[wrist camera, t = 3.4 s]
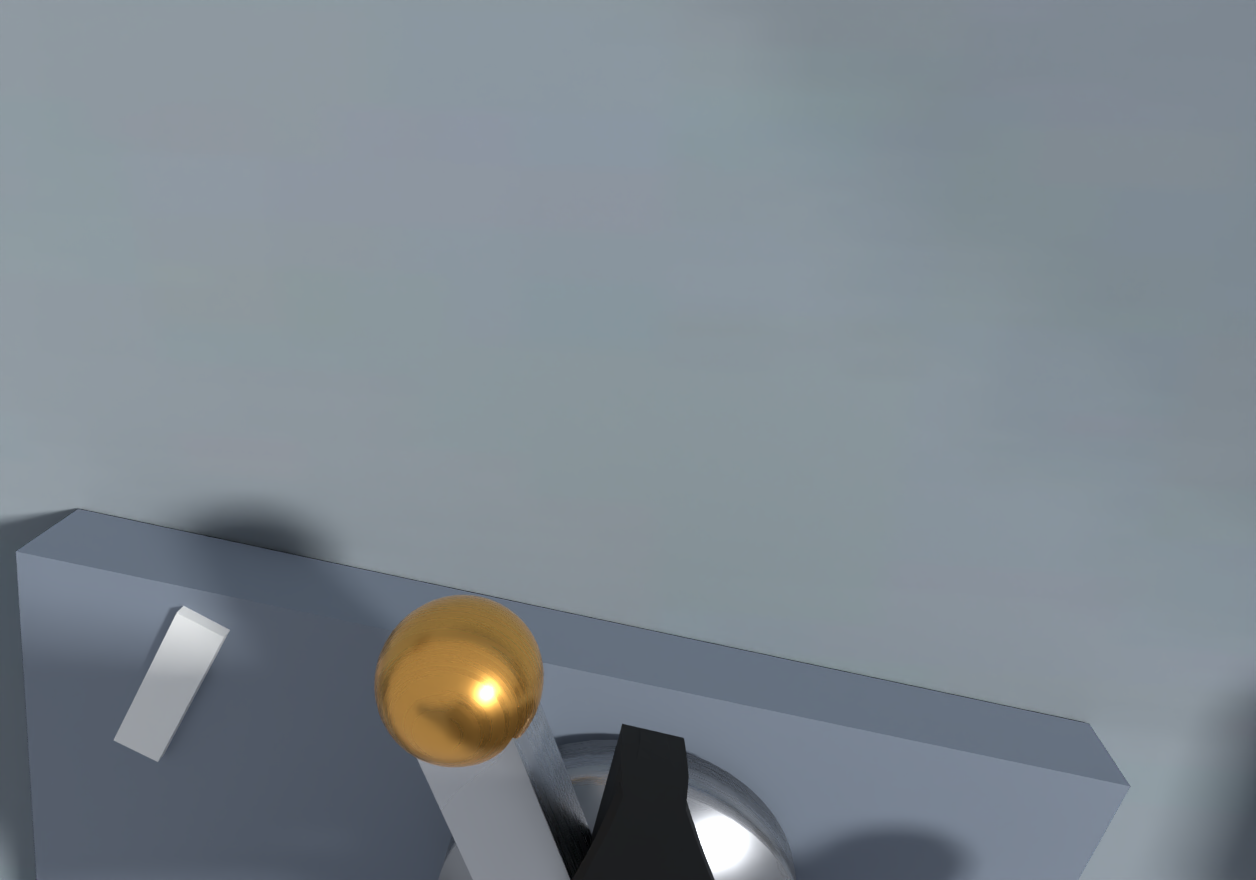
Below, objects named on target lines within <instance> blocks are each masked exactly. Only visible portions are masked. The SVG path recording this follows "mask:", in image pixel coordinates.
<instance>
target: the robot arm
mask: <svg viewBox="0 0 1256 880" xmlns="http://www.w3.org/2000/svg"><path fill="white" fill-rule="evenodd" d="M688 780H689V774H688V763H687V754H686V747H685V741H684V738H683V737H678V736H674V735H670V734H665V733H661V732H657V731H652V730H648V729H644V728H639V727H635V726H630V725H626V724H622V726H621V730H620V734H619V737H618V741H617V745H616V748H615V752H614V755H613V759H612V763H611V766H610V770H609V774H608V777H607V781H606V785H605V788H604V792H603V795H602V799H601V803H600V806H599V810H598V814H597V817H596V821H595V825H594V828H593V832H592V840H591V847H590V849H589V850H588V852H587V854H586V856H585V857H584V859H583V861H582V863H581V865H580V866H579V868H578V870H577V872H576V873H575V875H574V877H573V879H572V880H715V879H714V877H713V874H712V871H711V869H710V866H709V863H708V861H707V858H706V855H705V853H704V850H703V847H702V844H701V842H700V839H699V836H698V834H697V831H696V828H695V825H694V822H693V819H692V816H691V813H690V810H689V806H688V803H687V792H688Z"/></svg>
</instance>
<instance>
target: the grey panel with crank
mask: <svg viewBox="0 0 1256 880" xmlns="http://www.w3.org/2000/svg"><path fill="white" fill-rule="evenodd" d="M16 562H17V578H18V594H19V610H20V626H21V642H22V658H23V674H24V690H25V706H26V722H27V738H28V754H29V770H30V786H31V802H32V818H33V834H34V850H35V866H36V880H438V878H439V875H440V872H441V869H442V866H443V862H444V859H445V856H446V853H447V849H448V846H449V843H450V840H451V837H452V833H451V831H450V829H449V827H448V825H447V823H446V820H445V818H444V816H443V814H442V812H441V810H440V807H439V805H438V803H437V801H436V799H435V797H434V794H433V792H432V790H431V788H430V786H429V784H428V781H427V779H426V777H425V775H424V773H423V771H422V768H421V766H420V764H419V762H418V760H417V758H416V757H414V756H412V755H411V754H409V753H408V752H407V751H405V750H404V749H403V748H402V747H401V746H400V745H398V744H397V742H396V741H395V740H394V739H393V738H392V737H391V735H390V734H389V733H388V731H387V729H386V727H385V726H384V724H383V722H382V720H381V718H380V715H379V712H378V709H377V704H376V700H375V691H374V679H375V671H376V666H377V662H378V658H379V655H380V653H381V651H382V648H383V646H384V644H385V642H386V640H387V639H388V637H389V636H390V634H391V633H392V631H393V630H394V628H395V627H396V626H397V625H398V624H399V623H400V622H401V621H402V620H403V619H404V618H405V617H406V616H407V615H408V614H410V613H411V612H412V611H414V610H415V609H417V608H419V607H420V606H422V605H424V604H426V603H428V602H430V601H432V600H435V599H439V598H442V597H446V596H452V595H474V596H480V597H484V598H488V599H491V600H493V601H496V602H498V603H500V604H502V605H504V606H505V607H507V608H509V609H510V610H511V611H513V612H514V613H515V614H516V615H517V616H518V617H520V618H521V619H522V621H523V622H524V623H525V624H526V625H527V627H528V628H529V630H530V631H531V633H532V634H533V636H534V638H535V640H536V642H537V644H538V647H539V650H540V654H541V657H542V662H543V670H544V684H543V691H542V697H541V700H540V703H541V705H542V708H543V711H544V713H545V716H546V718H547V721H548V723H549V726H550V729H551V731H552V734H553V736H554V739H555V741H556V744H557V746H560V745H564V744H568V743H575V742H582V741H590V740H618V737H619V734H620V730H621V726H622V724H626V725H630V726H635V727H639V728H644V729H648V730H652V731H657V732H661V733H665V734H670V735H674V736H678V737H683V738H684V741H685V747H686V752H687V753H689V754H692V755H694V756H697V757H699V758H701V759H704V760H706V761H709V762H711V763H712V764H714V765H716V766H718V767H719V768H721V769H723V770H725V771H727V772H728V773H730V774H731V775H733V776H734V777H735V778H737V779H738V780H740V781H741V782H742V783H744V784H745V785H746V786H748V787H749V788H750V789H751V790H752V791H753V792H754V793H755V794H756V795H757V796H758V797H759V798H760V799H761V800H762V801H763V802H764V803H765V804H766V806H767V807H768V808H769V809H770V811H771V812H772V813H773V815H774V816H775V817H776V819H777V821H778V822H779V824H780V826H781V828H782V829H783V831H784V833H785V835H786V838H787V841H788V843H789V846H790V849H791V852H792V857H793V863H794V868H795V874H796V880H1079V878H1080V876H1081V874H1082V872H1083V871H1084V869H1085V867H1086V865H1087V863H1088V862H1089V860H1090V858H1091V856H1092V854H1093V853H1094V851H1095V849H1096V847H1097V846H1098V844H1099V842H1100V840H1101V838H1102V837H1103V835H1104V833H1105V831H1106V829H1107V828H1108V826H1109V824H1110V822H1111V820H1112V819H1113V817H1114V815H1115V813H1116V811H1117V810H1118V808H1119V806H1120V804H1121V802H1122V801H1123V799H1124V797H1125V795H1126V793H1127V792H1128V790H1129V788H1130V785H1129V783H1128V782H1127V780H1126V779H1125V777H1124V776H1123V774H1122V773H1121V771H1120V770H1119V768H1118V767H1117V765H1116V764H1115V762H1114V761H1113V759H1112V758H1111V756H1110V755H1109V753H1108V751H1107V750H1106V748H1105V747H1104V745H1103V744H1102V742H1101V741H1100V739H1099V738H1098V736H1097V735H1096V733H1095V732H1094V730H1093V729H1092V727H1091V726H1090V724H1088V723H1083V722H1079V721H1074V720H1069V719H1065V718H1060V717H1055V716H1050V715H1046V714H1041V713H1036V712H1032V711H1027V710H1022V709H1017V708H1013V707H1008V706H1003V705H999V704H994V703H989V702H985V701H980V700H975V699H970V698H966V697H961V696H956V695H952V694H947V693H942V692H937V691H933V690H928V689H923V688H919V687H914V686H909V685H905V684H900V683H895V682H890V681H886V680H881V679H876V678H872V677H867V676H862V675H857V674H853V673H848V672H843V671H839V670H834V669H829V668H825V667H820V666H815V665H810V664H806V663H801V662H796V661H792V660H787V659H782V658H777V657H773V656H768V655H763V654H759V653H754V652H749V651H745V650H740V649H735V648H730V647H726V646H721V645H716V644H712V643H707V642H702V641H697V640H693V639H688V638H683V637H679V636H674V635H669V634H665V633H660V632H655V631H650V630H646V629H641V628H636V627H632V626H627V625H622V624H617V623H613V622H608V621H603V620H599V619H594V618H589V617H585V616H580V615H575V614H570V613H566V612H561V611H556V610H552V609H547V608H542V607H537V606H533V605H528V604H523V603H519V602H514V601H509V600H505V599H500V598H495V597H490V596H486V595H481V594H476V593H472V592H467V591H462V590H457V589H453V588H448V587H443V586H439V585H434V584H429V583H425V582H420V581H415V580H410V579H406V578H401V577H396V576H392V575H387V574H382V573H377V572H373V571H368V570H363V569H359V568H354V567H349V566H345V565H340V564H335V563H330V562H326V561H321V560H316V559H312V558H307V557H302V556H297V555H293V554H288V553H283V552H279V551H274V550H269V549H265V548H260V547H255V546H250V545H246V544H241V543H236V542H232V541H227V540H222V539H217V538H213V537H208V536H203V535H199V534H194V533H189V532H185V531H180V530H175V529H170V528H166V527H161V526H156V525H152V524H147V523H142V522H137V521H133V520H128V519H123V518H119V517H114V516H109V515H105V514H100V513H95V512H90V511H86V510H81V509H77V510H76V511H74V512H73V513H71V514H70V515H68V516H67V517H66V518H64V519H63V520H61V521H60V522H58V523H57V524H55V525H54V526H52V527H51V528H49V529H48V530H46V531H45V532H44V533H42V534H41V535H39V536H38V537H36V538H35V539H33V540H32V541H30V542H29V543H27V544H26V545H24V546H23V547H22V548H20V549H19V550H17V551H16Z"/></svg>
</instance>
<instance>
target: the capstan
mask: <svg viewBox="0 0 1256 880" xmlns="http://www.w3.org/2000/svg"><path fill="white" fill-rule="evenodd" d="M543 684H544V670H543V662H542V657H541V654H540V650H539V647H538V644H537V642H536V640H535V638H534V636H533V634H532V633H531V631H530V630H529V628H528V627H527V625H526V624H525V623H524V622H523V621H522V619H521V618H520V617H518V616H517V615H516V614H515V613H514V612H513V611H511V610H510V609H509V608H507V607H505V606H504V605H502V604H500V603H498V602H496V601H493V600H491V599H488V598H484V597H480V596H474V595H452V596H446V597H442V598H439V599H435V600H432V601H430V602H428V603H426V604H424V605H422V606H420V607H419V608H417V609H415V610H414V611H412V612H411V613H410V614H408V615H407V616H406V617H405V618H404V619H403V620H402V621H401V622H400V623H399V624H398V625H397V626H396V627H395V628H394V630H393V631H392V633H391V634H390V636H389V637H388V639H387V640H386V642H385V644H384V646H383V648H382V651H381V653H380V655H379V658H378V662H377V666H376V671H375V679H374V691H375V700H376V704H377V709H378V712H379V715H380V718H381V720H382V722H383V724H384V726H385V727H386V729H387V731H388V733H389V734H390V735H391V737H392V738H393V739H394V740H395V741H396V742H397V744H398V745H400V746H401V747H402V748H403V749H404V750H405V751H407V752H408V753H409V754H411V755H412V756H414V757H416V758H417V760H418V762H419V764H420V766H421V768H422V771H423V773H424V775H425V777H426V779H427V781H428V784H429V786H430V788H431V790H432V792H433V794H434V797H435V799H436V801H437V803H438V805H439V807H440V810H441V812H442V814H443V816H444V818H445V820H446V823H447V825H448V827H449V829H450V831H451V833H452V837H451V840H450V843H449V846H448V849H447V853H446V856H445V859H444V862H443V866H442V869H441V872H440V875H439V878H438V880H572V879H573V877H574V875H575V873H576V872H577V870H578V868H579V866H580V865H581V863H582V861H583V859H584V857H585V856H586V854H587V852H588V850H589V849H590V847H591V840H592V832H593V828H594V825H595V821H596V817H597V814H598V810H599V806H600V803H601V799H602V795H603V792H604V788H605V785H606V781H607V777H608V774H609V770H610V766H611V763H612V759H613V755H614V752H615V748H616V745H617V741H618V740H590V741H582V742H575V743H568V744H564V745H560V746H557V744H556V741H555V739H554V736H553V734H552V731H551V729H550V726H549V723H548V721H547V718H546V716H545V713H544V711H543V708H542V705H541V703H540V700H541V697H542V691H543ZM686 754H687V763H688V774H689V780H688V792H687V803H688V806H689V810H690V813H691V816H692V819H693V822H694V825H695V828H696V831H697V834H698V836H699V839H700V842H701V844H702V847H703V850H704V853H705V855H706V858H707V861H708V863H709V866H710V869H711V871H712V874H713V877H714V879H715V880H796V874H795V868H794V863H793V857H792V852H791V849H790V846H789V843H788V841H787V838H786V835H785V833H784V831H783V829H782V828H781V826H780V824H779V822H778V821H777V819H776V817H775V816H774V815H773V813H772V812H771V811H770V809H769V808H768V807H767V806H766V804H765V803H764V802H763V801H762V800H761V799H760V798H759V797H758V796H757V795H756V794H755V793H754V792H753V791H752V790H751V789H750V788H749V787H748V786H746V785H745V784H744V783H742V782H741V781H740V780H738V779H737V778H735V777H734V776H733V775H731V774H730V773H728V772H727V771H725V770H723V769H721V768H719V767H718V766H716V765H714V764H712V763H711V762H709V761H706V760H704V759H701V758H699V757H697V756H694V755H692V754H689V753H687V752H686Z"/></svg>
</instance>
